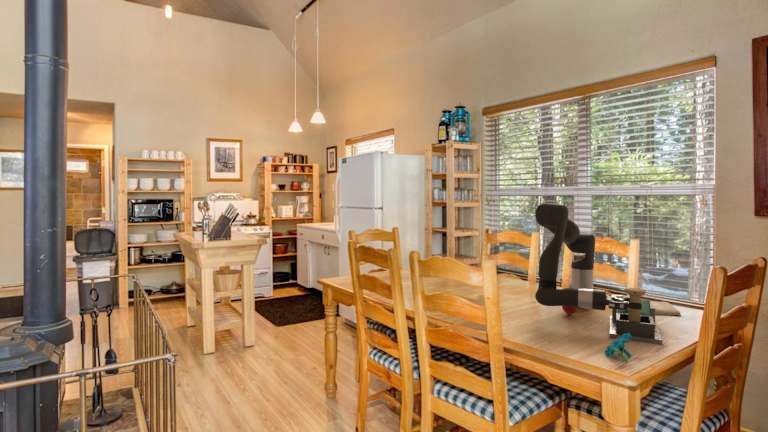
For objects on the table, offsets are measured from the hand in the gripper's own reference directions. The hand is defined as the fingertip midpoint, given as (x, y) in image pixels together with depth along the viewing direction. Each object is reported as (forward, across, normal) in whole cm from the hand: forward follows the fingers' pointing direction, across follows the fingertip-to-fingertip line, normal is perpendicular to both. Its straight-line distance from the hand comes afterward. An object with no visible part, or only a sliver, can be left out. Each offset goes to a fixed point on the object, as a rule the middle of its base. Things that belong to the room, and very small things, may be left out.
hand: (641, 303), depth 163 cm
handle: (-2, 0, +10) cm, 10 cm away
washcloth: (+9, +44, +12) cm, 47 cm away
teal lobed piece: (-7, -27, +12) cm, 31 cm away
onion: (-25, +17, +12) cm, 33 cm away
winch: (-2, +6, +11) cm, 13 cm away
